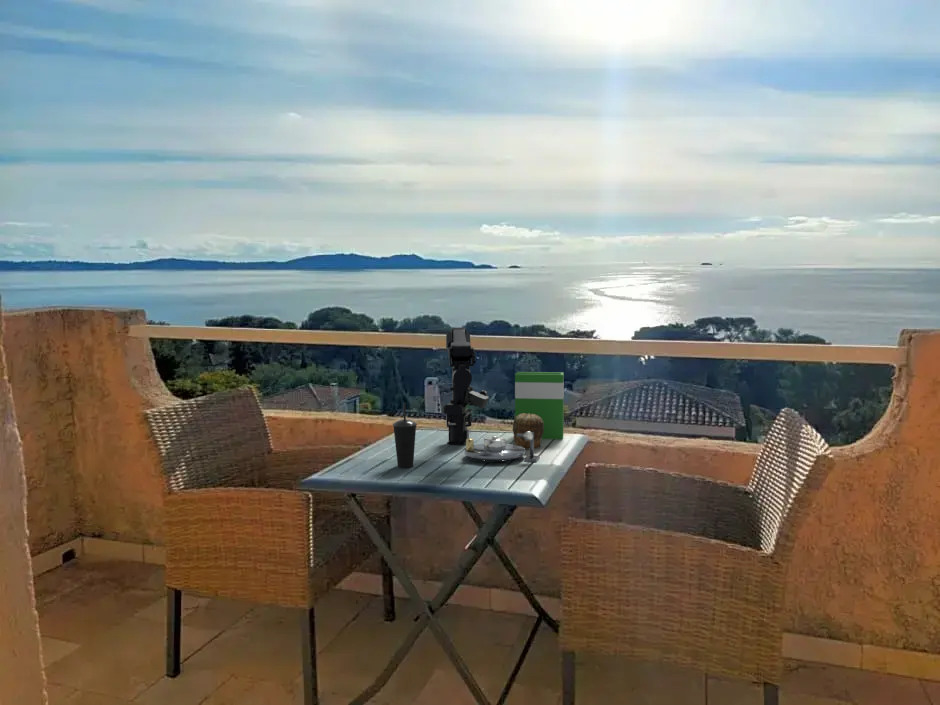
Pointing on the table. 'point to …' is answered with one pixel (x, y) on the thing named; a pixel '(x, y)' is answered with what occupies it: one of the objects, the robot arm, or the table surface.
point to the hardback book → (542, 399)
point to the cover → (494, 444)
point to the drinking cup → (405, 441)
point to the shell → (528, 429)
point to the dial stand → (530, 437)
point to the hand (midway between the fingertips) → (461, 432)
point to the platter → (480, 453)
